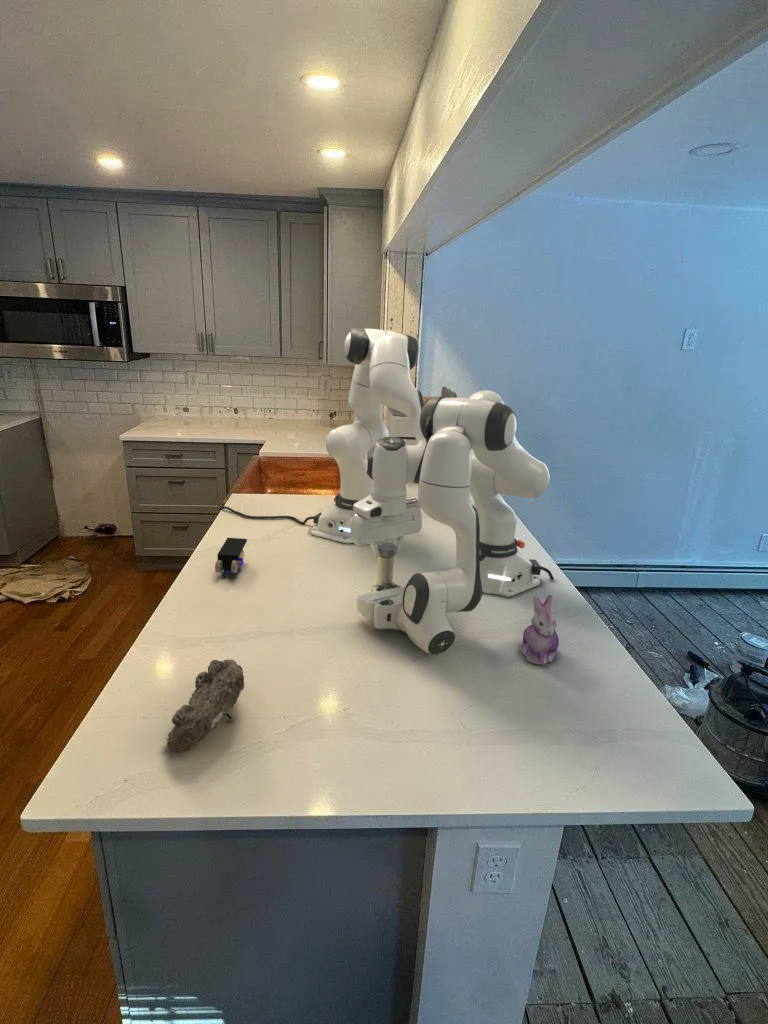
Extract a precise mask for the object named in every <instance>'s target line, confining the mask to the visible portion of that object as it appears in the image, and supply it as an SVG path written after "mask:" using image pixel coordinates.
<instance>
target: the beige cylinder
mask: <svg viewBox="0 0 768 1024" xmlns="http://www.w3.org/2000/svg"><path fill="white" fill-rule="evenodd" d="M394 563H395V555H394V556H392V557H382V556H379V557H377V571H376V572H377V573H376V585H377V586H378V587H379V591H382V590H387V589H392V584H393V582H394Z"/></svg>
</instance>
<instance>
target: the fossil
mask: <svg viewBox="0 0 768 1024" xmlns="http://www.w3.org/2000/svg"><path fill="white" fill-rule="evenodd" d="M243 670H244V669H243V667H242V665H240V664H237V662H236V661H235V660H234V659H232V658H231V659H227V658H226V659H224V660H223V661H222V660H217V659H212V660H211V661H210V663H209V665H208V666H207V671H201V672H199V673H198V674H197V675H196V676H195V680H194V684H195V685H194V687H195V689H194V690H193V693H192V694H191V697H190V698H189V700H188V704H184V705H182V706H181V707H180V709H177V710H176V711H175V713H174V715H173V716H172V718H171V723H172V724H173V727H172V730H171V731H170V732H168V734H167V738H166V741H167V742H166V745H167V749H168V750H169V751H173V752H174V753H176V754H178V753H182V752H188V751H189V752H192V751H193V750H195V748H196V747H197V746H199V744H200V743H201V742H203V741H204V740H205V739H206V738H207V737H208V736H209V735H210V734H211V733H212V732H214V730H215V729H217V727H218V726H219V724H220V722H221V721H222V720H223V719H224V718H225V716H226V717H227V719H229V720H233V717H232V715H230V714H229V710H230V709H231V708H234V706H235V704H236V703H237V702H238V699H239V697H240V695H241V693H242V691H243V690H245V689H244V688H245V675H244V671H243Z"/></svg>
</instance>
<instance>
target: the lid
mask: <svg viewBox="0 0 768 1024" xmlns="http://www.w3.org/2000/svg"><path fill="white" fill-rule="evenodd" d="M376 546H377V548H378V549H379V550H381V556H382V557H392V556H394V557H395V556H396V554H397V552H396V545H394V543H392V542H387V541H385V542H380V543H379V542H378V545H376Z"/></svg>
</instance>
